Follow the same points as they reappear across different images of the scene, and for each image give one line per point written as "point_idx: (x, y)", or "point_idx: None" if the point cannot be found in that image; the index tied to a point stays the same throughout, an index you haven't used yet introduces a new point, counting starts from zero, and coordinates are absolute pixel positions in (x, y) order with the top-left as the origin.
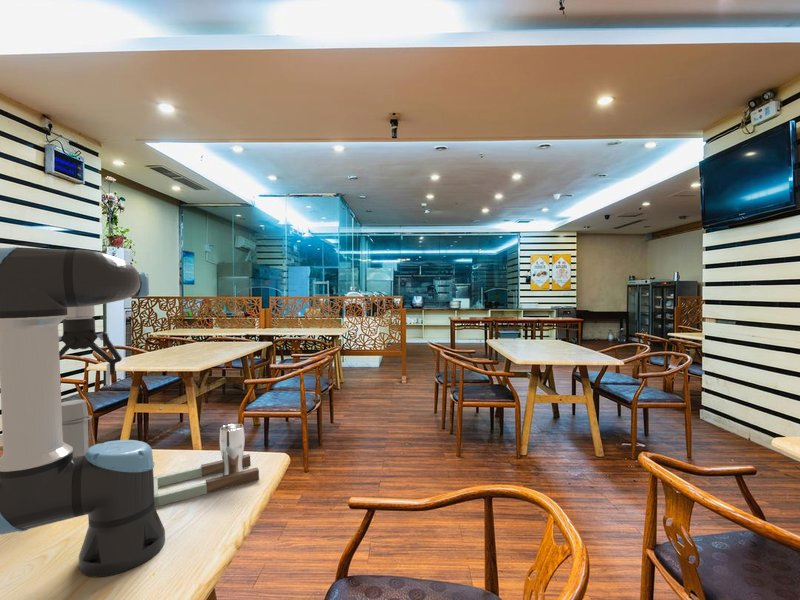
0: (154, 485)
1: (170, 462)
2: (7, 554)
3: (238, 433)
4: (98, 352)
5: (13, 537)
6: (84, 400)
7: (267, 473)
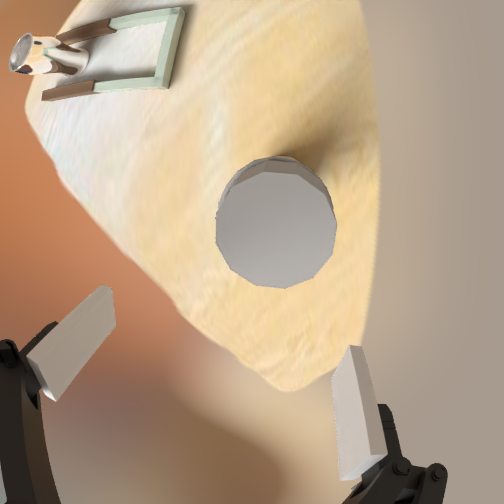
0: (164, 48)
1: (128, 187)
2: (361, 11)
3: (26, 38)
4: (20, 463)
5: (362, 50)
6: (221, 235)
7: None
